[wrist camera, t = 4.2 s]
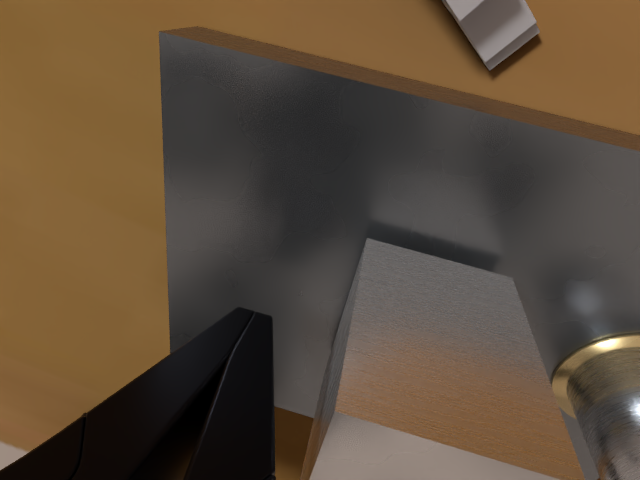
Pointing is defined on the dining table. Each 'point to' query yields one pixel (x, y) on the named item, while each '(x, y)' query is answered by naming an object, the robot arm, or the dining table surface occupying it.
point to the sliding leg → (435, 380)
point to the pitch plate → (398, 216)
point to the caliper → (494, 26)
